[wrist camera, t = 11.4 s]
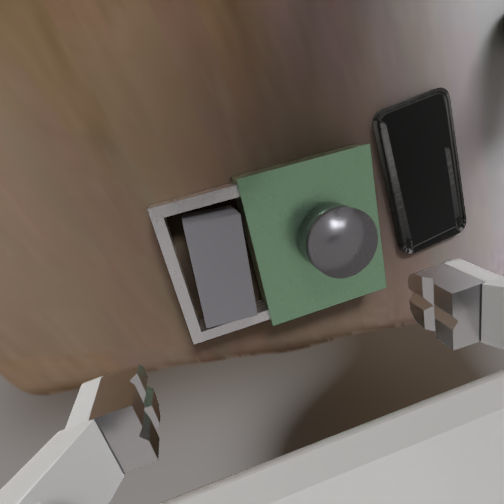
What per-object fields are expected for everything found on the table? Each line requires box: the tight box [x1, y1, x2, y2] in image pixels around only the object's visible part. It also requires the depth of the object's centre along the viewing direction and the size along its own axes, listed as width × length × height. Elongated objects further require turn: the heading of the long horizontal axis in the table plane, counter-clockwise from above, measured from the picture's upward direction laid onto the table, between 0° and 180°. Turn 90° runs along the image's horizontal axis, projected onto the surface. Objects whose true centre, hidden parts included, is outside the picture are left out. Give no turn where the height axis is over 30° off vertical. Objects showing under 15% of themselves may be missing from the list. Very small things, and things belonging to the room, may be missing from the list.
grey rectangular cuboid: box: [181, 205, 258, 328], centre depth 30 cm, size 9×4×5 cm, turn 10°
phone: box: [373, 88, 466, 254], centre depth 34 cm, size 8×1×15 cm
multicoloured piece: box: [147, 144, 387, 344], centre depth 30 cm, size 14×20×6 cm
